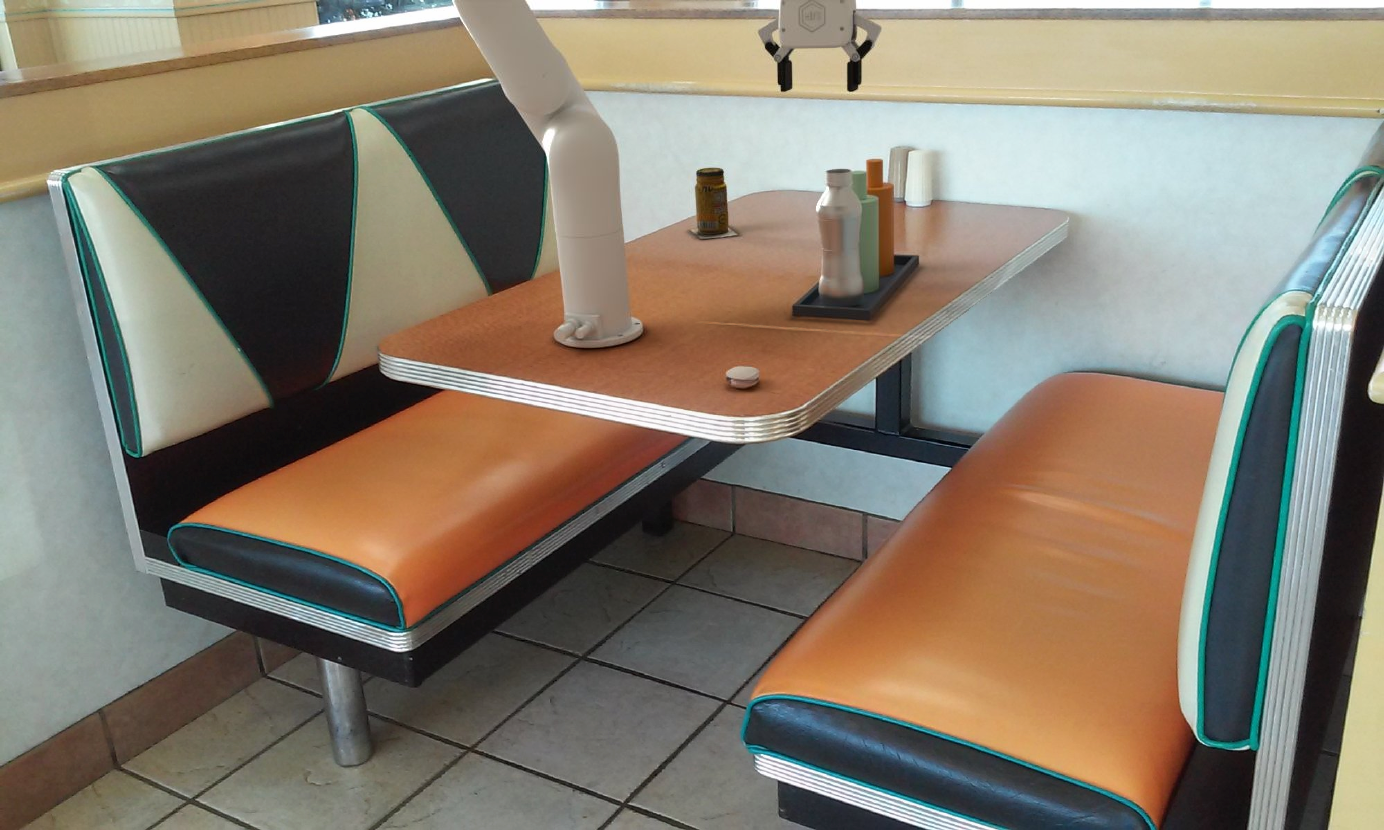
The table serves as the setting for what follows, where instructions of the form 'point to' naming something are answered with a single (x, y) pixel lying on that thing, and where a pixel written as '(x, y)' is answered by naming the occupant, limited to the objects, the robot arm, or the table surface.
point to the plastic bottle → (840, 241)
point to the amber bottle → (882, 214)
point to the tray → (870, 302)
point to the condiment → (711, 204)
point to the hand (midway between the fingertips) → (819, 90)
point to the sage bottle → (867, 232)
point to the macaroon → (742, 376)
